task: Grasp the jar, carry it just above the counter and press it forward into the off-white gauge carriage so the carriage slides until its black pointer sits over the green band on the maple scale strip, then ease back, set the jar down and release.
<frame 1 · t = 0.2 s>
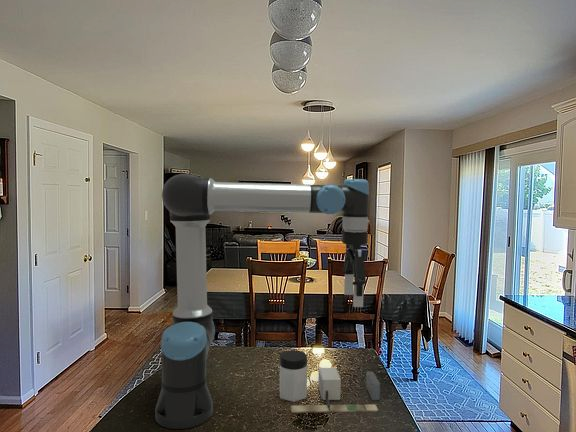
hand: (353, 300, 127), 27 cm above the kitchen island, fingers open, 13 cm apart
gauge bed: (334, 409, 116), on the kitchen island
carriage: (330, 387, 122), point 3 cm above the kitchen island, slide at 0.0 cm
two-tone gray brick: (372, 393, 126), on the kitchen island
jar: (292, 395, 124), on the kitchen island
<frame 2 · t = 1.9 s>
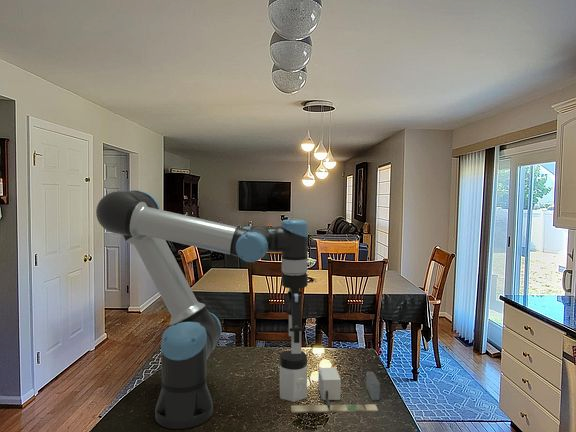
hand: (294, 344, 123), 15 cm above the kitchen island, fingers open, 13 cm apart
nothing on the kitchen island moved.
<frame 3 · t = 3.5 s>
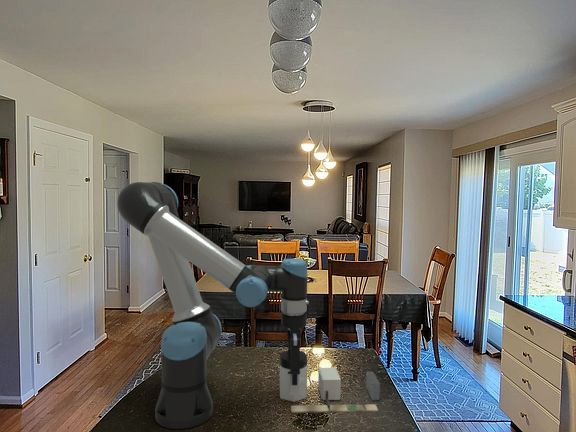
hand: (293, 386, 124), 2 cm above the kitchen island, fingers closed on jar, 9 cm apart
jar: (292, 395, 124), on the kitchen island, touching gripper
everything else where it was.
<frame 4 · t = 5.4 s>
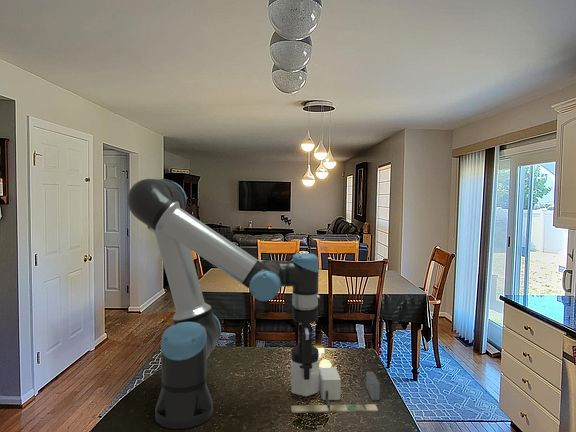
hand: (304, 381, 124), 4 cm above the kitchen island, fingers closed on jar, 9 cm apart
jar: (304, 389, 124), point 1 cm above the kitchen island, touching gripper
everything else where it was.
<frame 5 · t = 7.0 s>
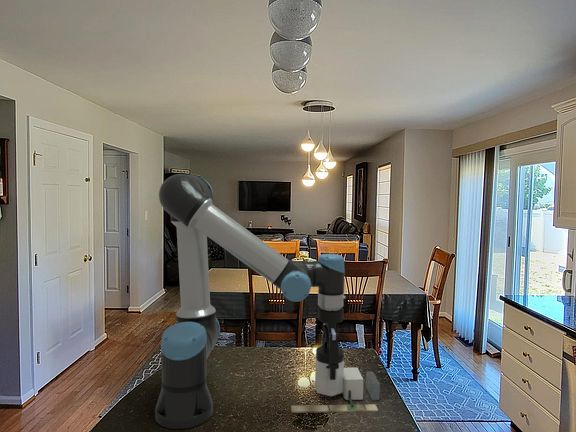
hand: (329, 381, 125), 4 cm above the kitchen island, fingers closed on jar, 9 cm apart
carriage: (352, 386, 123), point 3 cm above the kitchen island, slide at 6.6 cm
jar: (329, 390, 125), point 1 cm above the kitchen island, touching gripper
when the fingers open (2 cm above the kitchen island, at t = 9.1 s): jar stays where it is, on the kitchen island.
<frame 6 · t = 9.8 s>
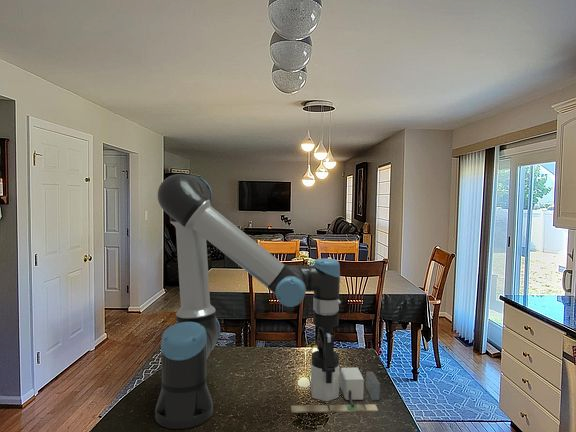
hand: (324, 381, 125), 4 cm above the kitchen island, fingers open, 13 cm apart
jar: (324, 394, 125), on the kitchen island
everything else where it was.
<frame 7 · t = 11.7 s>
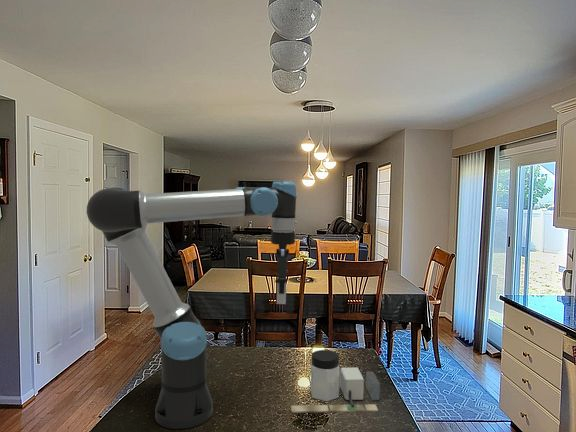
hand: (281, 298, 133), 26 cm above the kitchen island, fingers open, 13 cm apart
nothing on the kitchen island moved.
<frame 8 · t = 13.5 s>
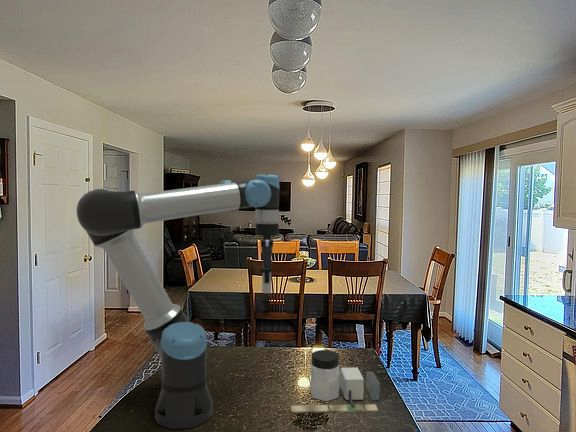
hand: (266, 287, 136), 29 cm above the kitchen island, fingers open, 13 cm apart
nothing on the kitchen island moved.
at the end: carriage slide at 6.7 cm; jar tilted 0°; the gripper is holding nothing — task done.
